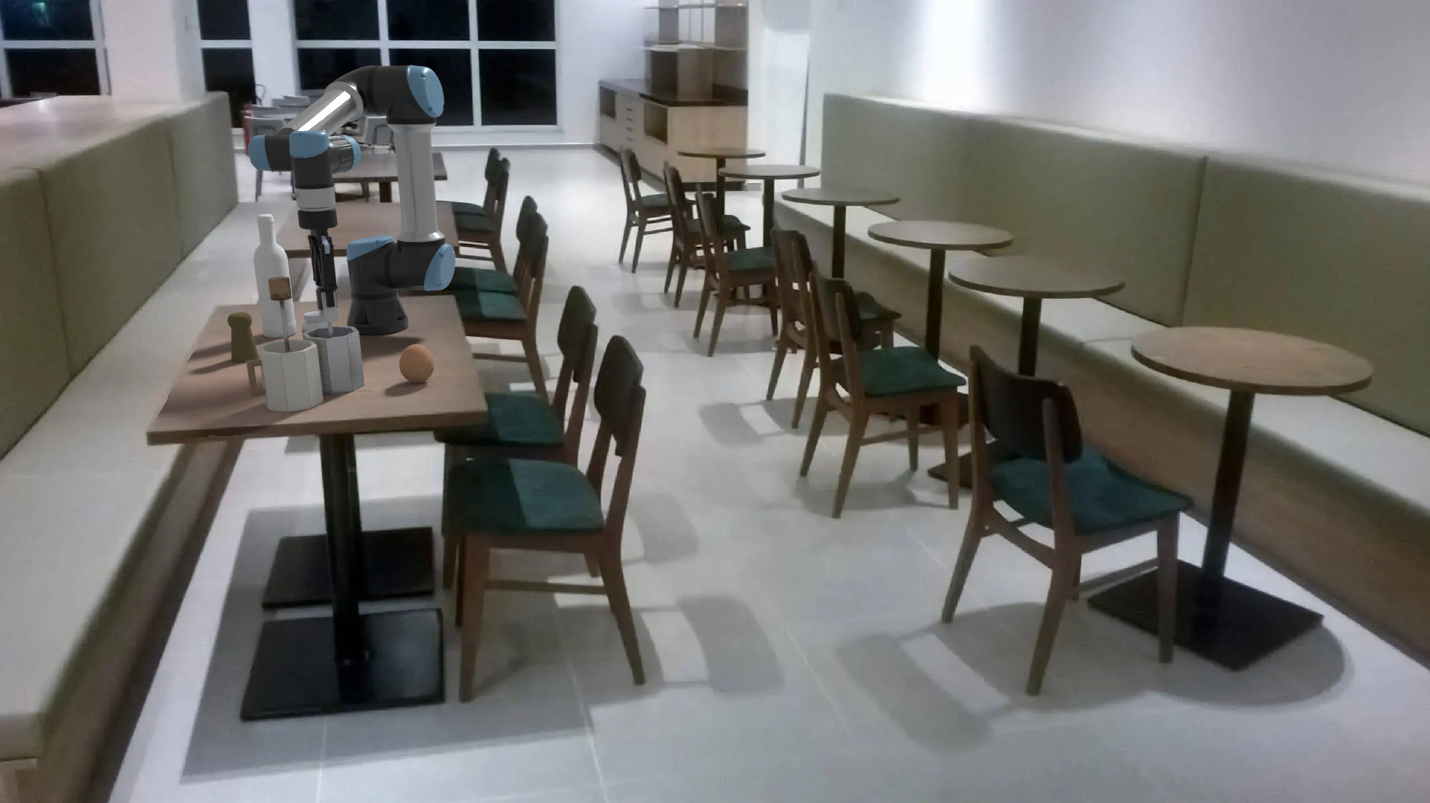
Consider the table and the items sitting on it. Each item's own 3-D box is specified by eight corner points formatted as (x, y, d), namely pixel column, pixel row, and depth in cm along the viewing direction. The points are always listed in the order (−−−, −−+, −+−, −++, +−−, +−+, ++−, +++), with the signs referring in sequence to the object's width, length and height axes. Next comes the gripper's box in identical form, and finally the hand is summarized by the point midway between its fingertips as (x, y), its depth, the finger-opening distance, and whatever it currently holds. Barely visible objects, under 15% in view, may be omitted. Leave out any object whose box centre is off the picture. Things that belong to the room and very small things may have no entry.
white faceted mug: (316, 391, 234) (309, 337, 230) (326, 405, 225) (320, 349, 221) (249, 401, 227) (241, 345, 223) (257, 416, 218) (249, 358, 215)
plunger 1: (303, 358, 228) (293, 273, 223) (310, 366, 223) (299, 280, 217) (269, 363, 225) (257, 277, 219) (275, 371, 220) (263, 284, 214)
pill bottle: (301, 363, 253) (296, 316, 250) (310, 355, 259) (304, 310, 256) (329, 363, 254) (323, 316, 250) (337, 355, 259) (331, 310, 256)
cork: (249, 363, 253) (242, 316, 250) (225, 361, 254) (218, 315, 251) (264, 356, 259) (258, 310, 255) (241, 354, 260) (234, 309, 256)
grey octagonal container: (356, 375, 244) (350, 323, 240) (368, 388, 235) (362, 334, 231) (293, 385, 238) (286, 331, 234) (303, 398, 229) (296, 343, 225)
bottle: (300, 335, 276) (285, 215, 267) (267, 339, 272) (251, 218, 263) (292, 328, 283) (277, 211, 273) (260, 332, 278) (243, 214, 269)
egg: (406, 377, 243) (403, 340, 241) (439, 377, 243) (436, 340, 240) (396, 387, 236) (392, 349, 234) (430, 387, 236) (427, 349, 233)
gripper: (289, 204, 230) (302, 312, 238) (305, 215, 216) (319, 330, 224) (326, 201, 234) (338, 308, 241) (344, 212, 220) (356, 325, 227)
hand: (329, 318), depth 232 cm, fingers closed on plunger 2, 4 cm apart
